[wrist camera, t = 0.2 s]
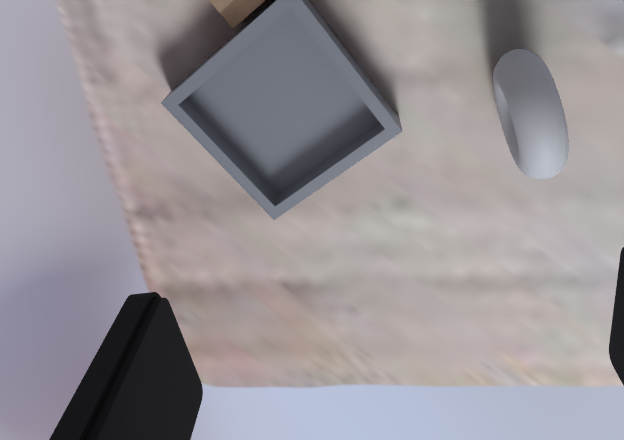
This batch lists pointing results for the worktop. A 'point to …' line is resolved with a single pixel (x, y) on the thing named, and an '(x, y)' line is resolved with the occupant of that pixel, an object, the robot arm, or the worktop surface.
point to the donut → (531, 114)
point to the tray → (283, 106)
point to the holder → (235, 9)
